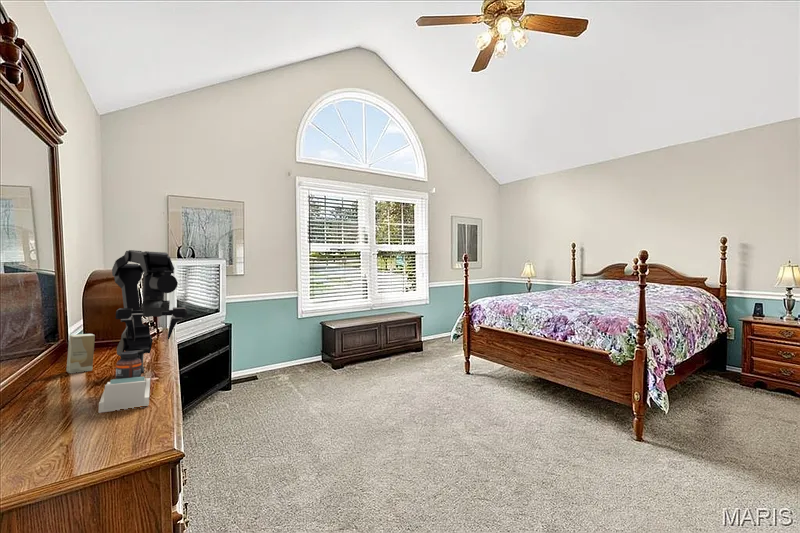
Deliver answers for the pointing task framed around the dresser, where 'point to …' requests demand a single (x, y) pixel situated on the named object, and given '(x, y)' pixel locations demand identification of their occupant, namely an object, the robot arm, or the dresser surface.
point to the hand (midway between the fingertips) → (151, 340)
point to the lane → (125, 395)
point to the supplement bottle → (128, 365)
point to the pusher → (126, 380)
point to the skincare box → (80, 353)
